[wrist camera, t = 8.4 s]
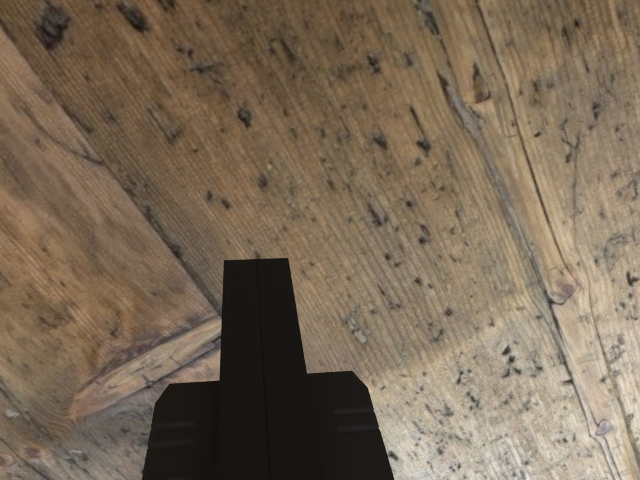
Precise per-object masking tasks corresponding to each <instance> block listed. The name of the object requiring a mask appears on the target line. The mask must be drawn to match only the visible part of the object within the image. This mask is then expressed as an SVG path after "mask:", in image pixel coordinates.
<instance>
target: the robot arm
mask: <svg viewBox="0 0 640 480" xmlns="http://www.w3.org/2000/svg"><path fill="white" fill-rule="evenodd" d="M142 480H394V477H393V473H392V470H391V467H390V463H389V460H388V456H387V453H386V449H385V446H384V442H383V439H382V436H381V432H380V430H379V425H378V422H377V418H376V415H375V413H374V408H373V405H372V401H371V398H370V394H369V391H368V388H367V387H366V386H365V384H364V383H363V382H362V381H361V380H360V379H359V378H358V377H357V376H356V375H355V373H354V372H353V371H341V372H325V373H309V374H307V371H306V365H305V359H304V353H303V347H302V340H301V334H300V328H299V322H298V316H297V310H296V303H295V297H294V291H293V285H292V279H291V272H290V266H289V260H288V258H276V259H249V260H224V274H223V301H222V328H221V355H220V381H206V382H190V383H174V384H169V385H168V387H167V388H166V389H165V391H164V392H163V393H162V395H161V396H160V398H159V399H158V400H157V402H156V403H155V407H154V413H153V419H152V424H151V430H150V436H149V442H148V449H147V453H146V459H145V465H144V470H143V476H142Z"/></svg>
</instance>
